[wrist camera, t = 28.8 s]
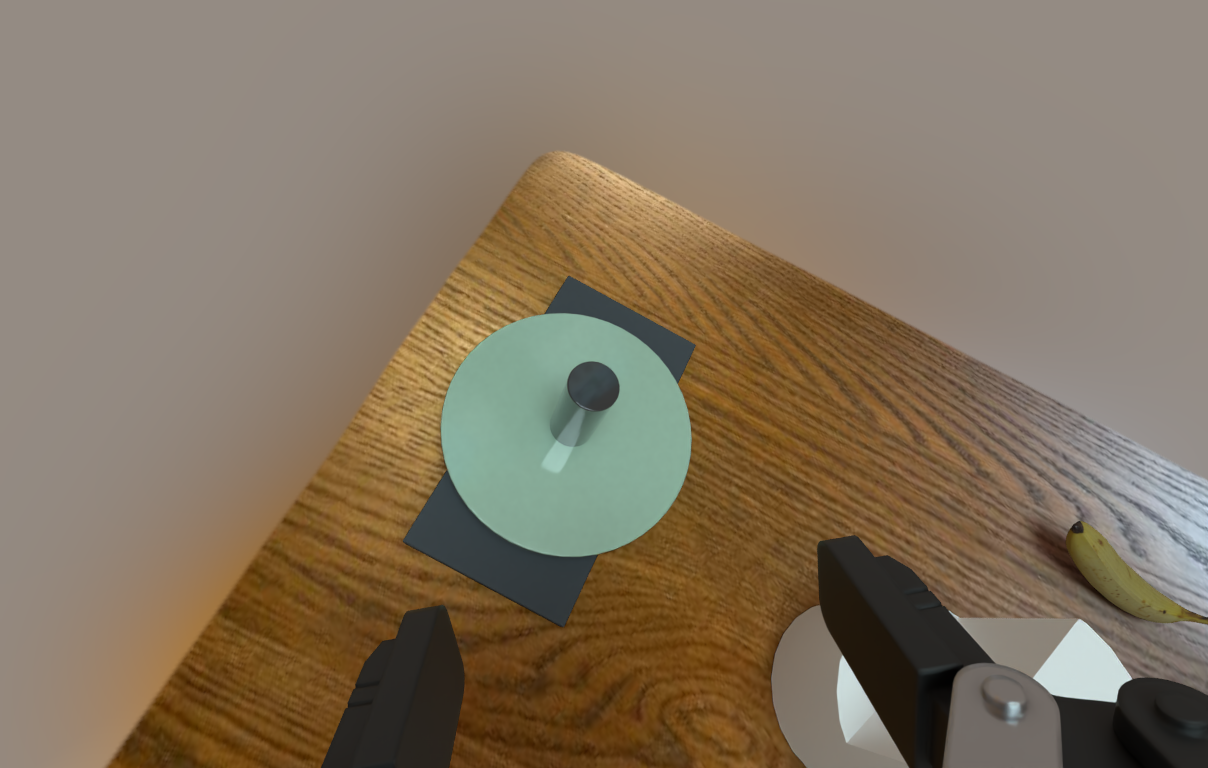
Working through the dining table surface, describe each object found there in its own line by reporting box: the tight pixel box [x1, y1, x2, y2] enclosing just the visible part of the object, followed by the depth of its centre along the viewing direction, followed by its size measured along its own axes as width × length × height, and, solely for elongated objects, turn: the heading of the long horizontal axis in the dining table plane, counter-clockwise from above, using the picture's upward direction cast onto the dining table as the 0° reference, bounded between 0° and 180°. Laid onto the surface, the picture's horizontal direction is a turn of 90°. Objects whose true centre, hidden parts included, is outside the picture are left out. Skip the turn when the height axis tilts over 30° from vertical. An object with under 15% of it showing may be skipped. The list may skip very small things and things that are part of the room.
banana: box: [1066, 521, 1208, 624], centre depth 36 cm, size 10×2×4 cm, turn 58°
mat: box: [403, 276, 696, 627], centre depth 33 cm, size 18×9×1 cm, turn 154°
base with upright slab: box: [771, 605, 1132, 768], centre depth 26 cm, size 9×9×12 cm
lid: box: [441, 313, 691, 558], centre depth 29 cm, size 14×14×7 cm
